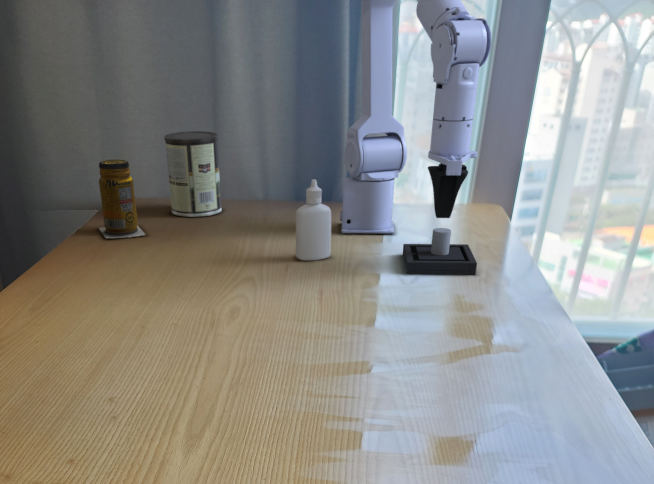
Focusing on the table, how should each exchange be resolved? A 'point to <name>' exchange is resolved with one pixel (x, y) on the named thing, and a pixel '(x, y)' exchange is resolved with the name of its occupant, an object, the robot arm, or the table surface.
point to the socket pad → (439, 262)
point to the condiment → (118, 200)
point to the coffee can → (193, 173)
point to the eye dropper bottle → (313, 227)
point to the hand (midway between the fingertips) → (442, 217)
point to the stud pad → (430, 257)
